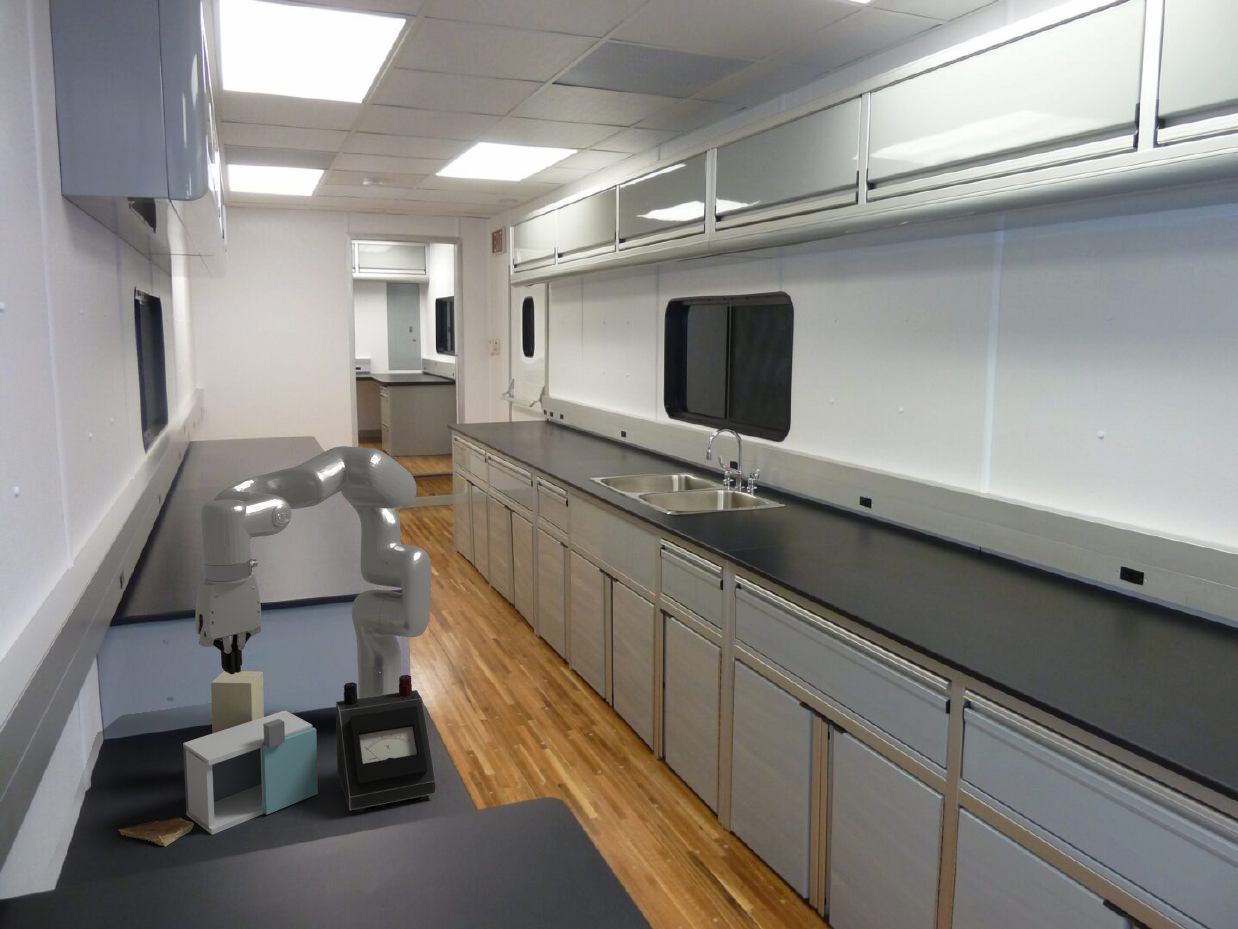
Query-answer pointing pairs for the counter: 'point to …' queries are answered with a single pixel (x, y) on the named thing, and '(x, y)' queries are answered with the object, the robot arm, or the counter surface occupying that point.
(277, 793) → the sliding door
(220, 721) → the beige tall block
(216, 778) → the storage cabinet
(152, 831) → the shard
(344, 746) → the voltmeter
